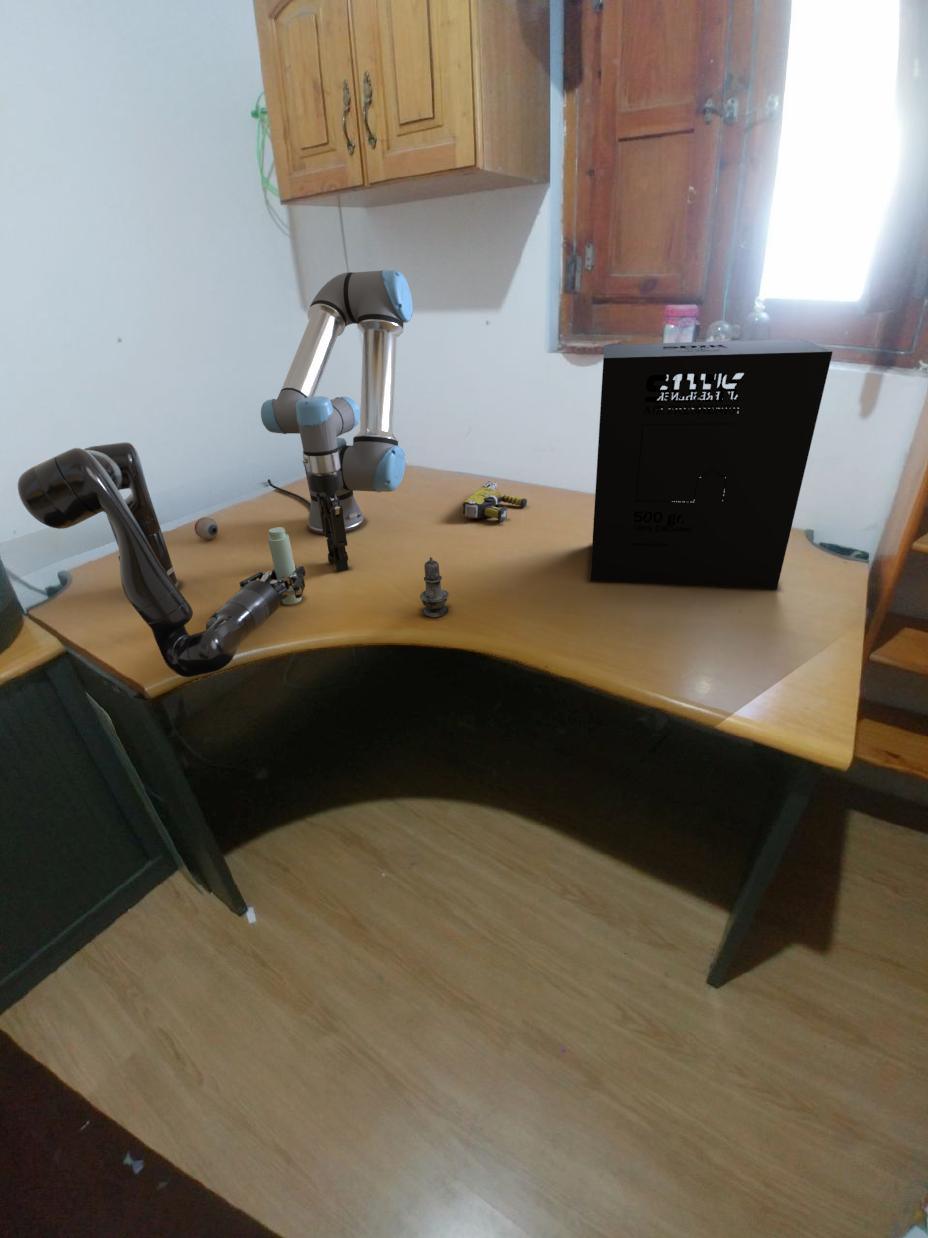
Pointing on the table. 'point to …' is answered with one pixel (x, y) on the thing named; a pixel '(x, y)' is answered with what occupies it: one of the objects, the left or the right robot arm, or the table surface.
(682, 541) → the cardboard box
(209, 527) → the eyeball
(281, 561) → the bottle
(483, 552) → the table surface
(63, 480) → the left robot arm
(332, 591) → the table surface
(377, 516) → the table surface
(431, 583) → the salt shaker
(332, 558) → the lid
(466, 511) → the toy gun
